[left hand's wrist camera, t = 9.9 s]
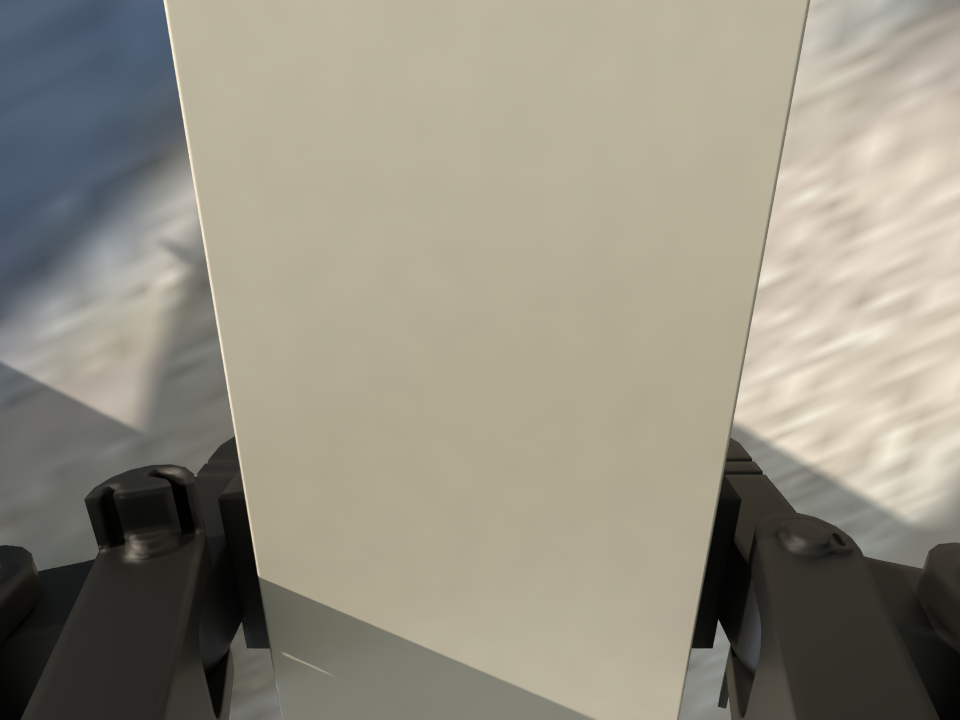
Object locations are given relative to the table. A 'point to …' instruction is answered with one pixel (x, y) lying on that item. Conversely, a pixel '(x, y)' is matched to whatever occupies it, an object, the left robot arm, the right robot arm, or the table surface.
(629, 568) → the bar
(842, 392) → the table surface
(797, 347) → the table surface
